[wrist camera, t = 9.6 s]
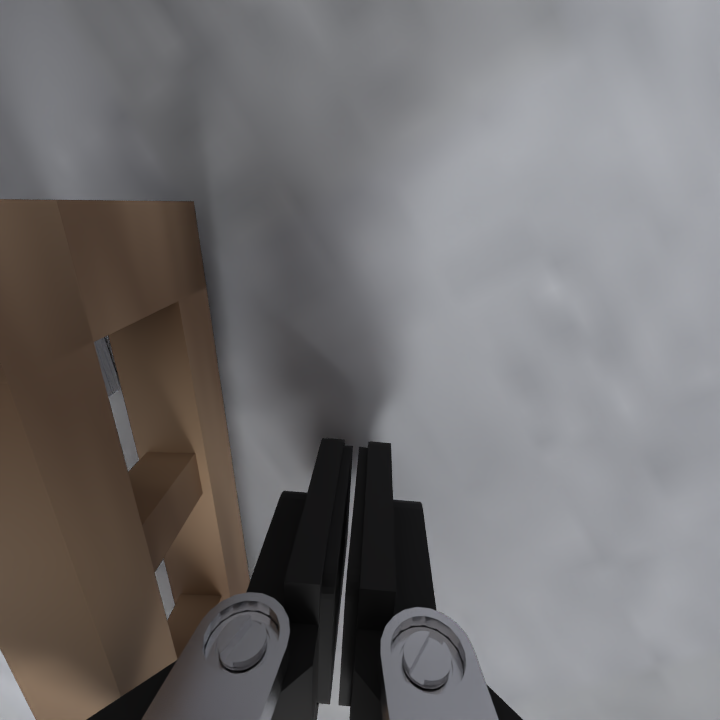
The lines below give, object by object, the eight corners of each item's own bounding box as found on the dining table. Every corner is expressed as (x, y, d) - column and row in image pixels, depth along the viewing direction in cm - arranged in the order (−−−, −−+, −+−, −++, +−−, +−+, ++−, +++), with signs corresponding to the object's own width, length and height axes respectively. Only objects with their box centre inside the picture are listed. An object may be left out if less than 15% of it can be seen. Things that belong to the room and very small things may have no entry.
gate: (276, 761, 14) (232, 1003, 10) (237, 759, 14) (176, 999, 10) (193, 200, 7) (-58, 198, 3) (120, 201, 7) (-225, 200, 3)
